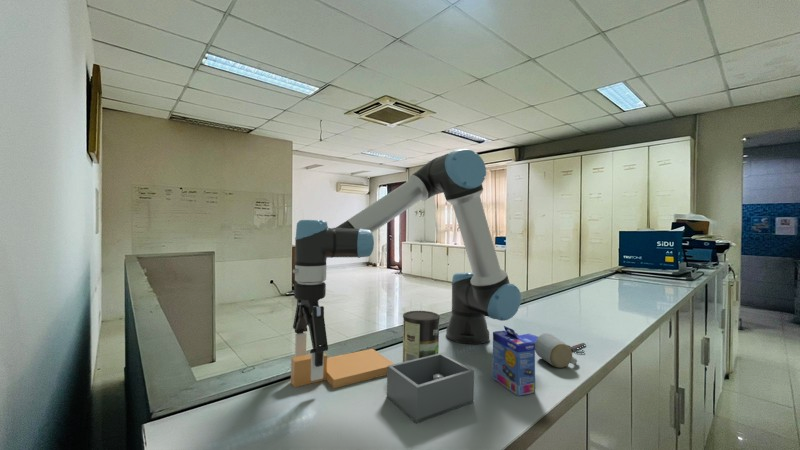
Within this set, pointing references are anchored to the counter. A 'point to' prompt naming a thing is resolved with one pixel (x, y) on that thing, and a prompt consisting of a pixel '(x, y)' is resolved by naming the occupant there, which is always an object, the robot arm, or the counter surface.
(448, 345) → the counter surface
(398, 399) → the parts tub
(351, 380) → the lid
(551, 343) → the ceramic mug
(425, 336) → the coffee can
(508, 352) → the ink cartridge box
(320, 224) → the robot arm
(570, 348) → the keychain
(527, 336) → the hard drive
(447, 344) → the counter surface
